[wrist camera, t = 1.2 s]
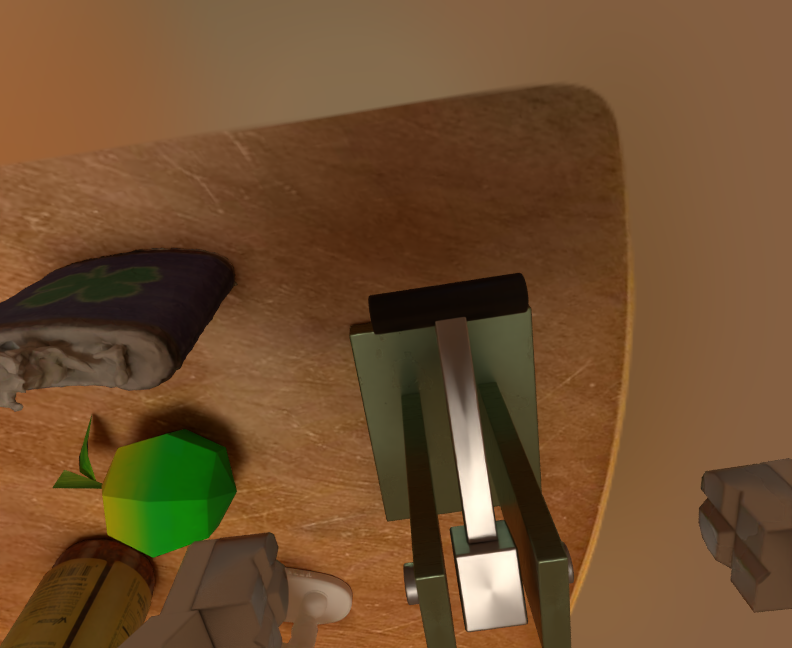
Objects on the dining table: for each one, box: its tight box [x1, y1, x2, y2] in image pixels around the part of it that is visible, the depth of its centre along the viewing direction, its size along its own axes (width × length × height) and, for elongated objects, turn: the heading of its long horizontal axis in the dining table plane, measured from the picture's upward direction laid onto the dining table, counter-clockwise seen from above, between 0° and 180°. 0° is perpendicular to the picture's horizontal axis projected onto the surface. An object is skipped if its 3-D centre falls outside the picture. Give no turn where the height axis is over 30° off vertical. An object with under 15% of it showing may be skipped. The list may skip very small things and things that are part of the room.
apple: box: [53, 416, 237, 558], centre depth 28 cm, size 7×6×9 cm
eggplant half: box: [0, 248, 238, 412], centre depth 22 cm, size 9×3×11 cm, turn 95°
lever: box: [368, 273, 528, 632], centre depth 20 cm, size 12×6×2 cm, turn 9°
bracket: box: [349, 304, 574, 648], centre depth 24 cm, size 12×9×13 cm
